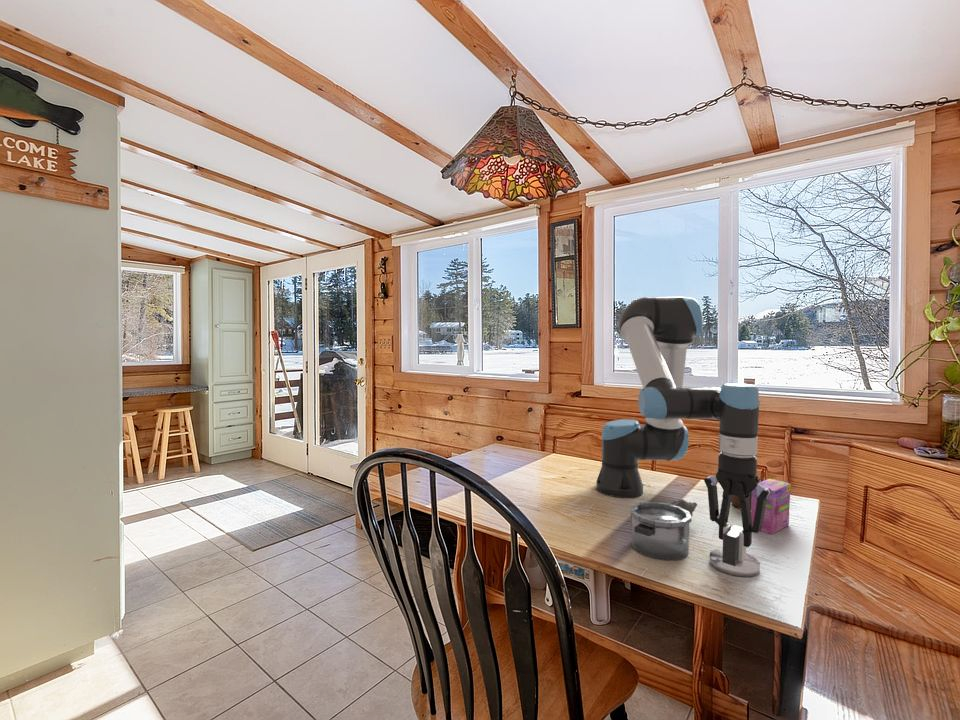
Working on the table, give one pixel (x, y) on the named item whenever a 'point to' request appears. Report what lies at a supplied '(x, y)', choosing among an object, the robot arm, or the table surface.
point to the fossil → (684, 505)
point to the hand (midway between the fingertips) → (734, 556)
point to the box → (773, 505)
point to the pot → (660, 530)
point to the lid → (733, 556)
